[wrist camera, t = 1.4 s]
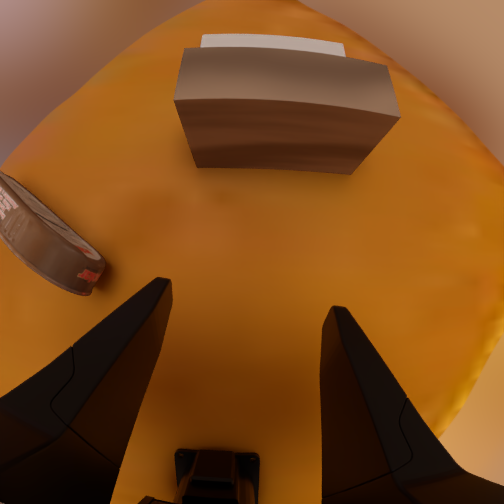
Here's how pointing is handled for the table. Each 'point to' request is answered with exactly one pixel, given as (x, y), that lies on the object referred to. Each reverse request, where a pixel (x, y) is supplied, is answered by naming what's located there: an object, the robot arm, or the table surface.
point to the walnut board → (282, 108)
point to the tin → (46, 240)
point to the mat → (272, 43)
